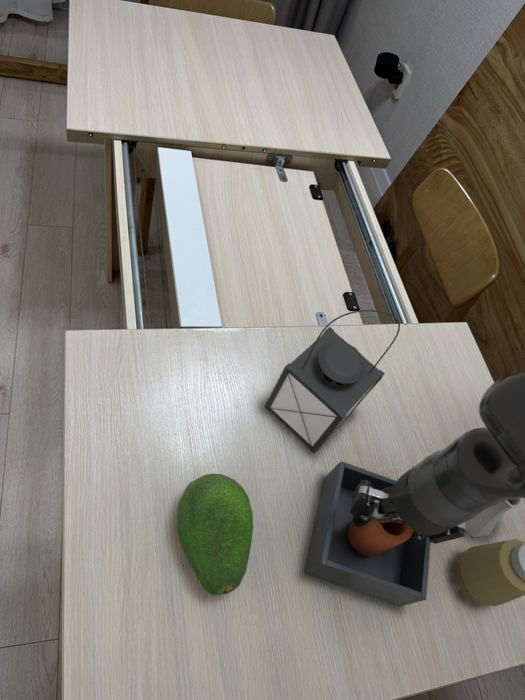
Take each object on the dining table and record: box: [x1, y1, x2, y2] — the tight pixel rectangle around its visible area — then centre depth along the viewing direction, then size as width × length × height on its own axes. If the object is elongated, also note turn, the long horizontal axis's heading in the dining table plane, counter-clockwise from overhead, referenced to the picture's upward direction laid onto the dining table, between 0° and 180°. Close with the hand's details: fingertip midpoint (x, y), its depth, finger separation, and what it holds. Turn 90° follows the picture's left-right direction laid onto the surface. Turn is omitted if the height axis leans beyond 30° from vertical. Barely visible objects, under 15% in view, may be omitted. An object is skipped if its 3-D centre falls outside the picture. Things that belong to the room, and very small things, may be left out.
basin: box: [303, 460, 432, 607], centre depth 72 cm, size 14×14×8 cm
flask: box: [465, 498, 524, 538], centre depth 77 cm, size 7×7×10 cm
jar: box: [348, 506, 414, 556], centre depth 69 cm, size 6×6×9 cm
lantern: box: [264, 309, 401, 454], centre depth 74 cm, size 11×11×28 cm
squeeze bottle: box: [454, 538, 525, 607], centre depth 68 cm, size 8×8×18 cm
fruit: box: [176, 473, 254, 596], centre depth 66 cm, size 15×10×10 cm, turn 6°
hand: (379, 527), depth 69 cm, fingers closed on jar, 6 cm apart
